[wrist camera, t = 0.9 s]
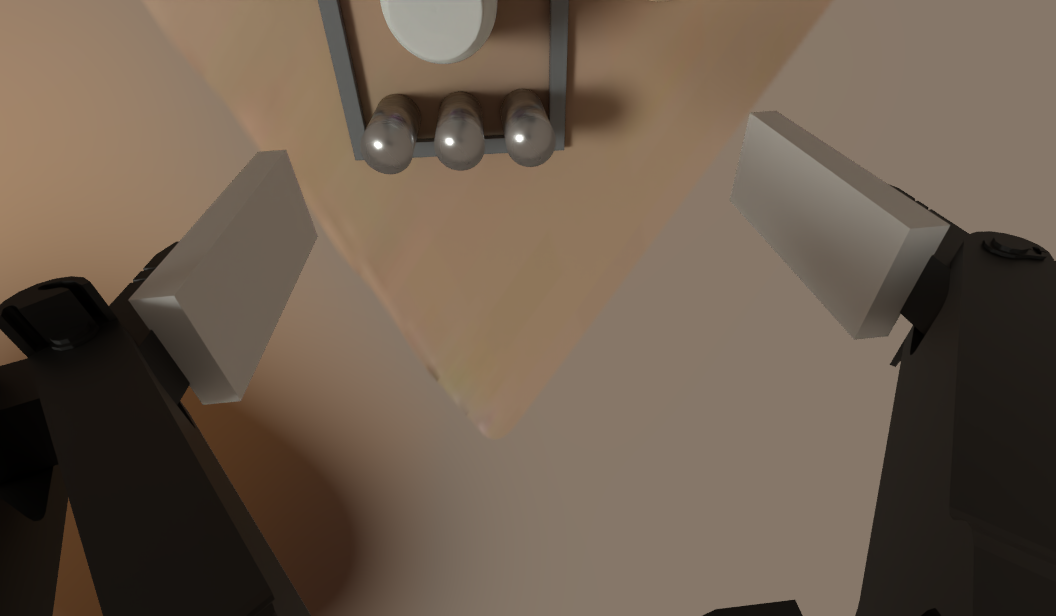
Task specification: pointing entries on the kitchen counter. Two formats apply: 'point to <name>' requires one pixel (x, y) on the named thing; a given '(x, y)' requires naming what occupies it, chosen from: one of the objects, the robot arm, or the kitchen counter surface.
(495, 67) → the kitchen counter surface
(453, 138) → the spacers
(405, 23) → the pill bottle
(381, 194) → the kitchen counter surface
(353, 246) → the kitchen counter surface
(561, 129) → the parts tray rim
